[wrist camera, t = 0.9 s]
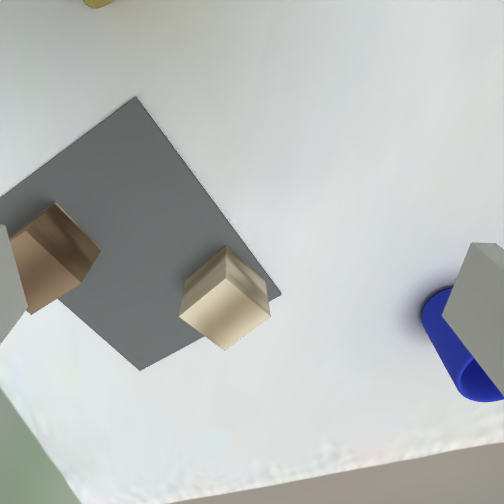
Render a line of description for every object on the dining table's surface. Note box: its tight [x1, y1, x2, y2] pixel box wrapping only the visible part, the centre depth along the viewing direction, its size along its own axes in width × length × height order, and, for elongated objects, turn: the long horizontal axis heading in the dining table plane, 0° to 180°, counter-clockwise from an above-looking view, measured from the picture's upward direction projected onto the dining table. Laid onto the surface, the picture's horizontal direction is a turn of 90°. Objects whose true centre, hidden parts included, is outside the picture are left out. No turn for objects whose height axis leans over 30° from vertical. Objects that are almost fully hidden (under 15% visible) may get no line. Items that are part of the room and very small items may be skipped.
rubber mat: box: [0, 97, 281, 371], centre depth 38 cm, size 24×20×1 cm
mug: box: [422, 288, 504, 402], centre depth 39 cm, size 8×12×10 cm
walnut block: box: [8, 203, 102, 315], centre depth 34 cm, size 6×6×6 cm
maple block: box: [179, 246, 271, 351], centre depth 37 cm, size 6×6×6 cm
